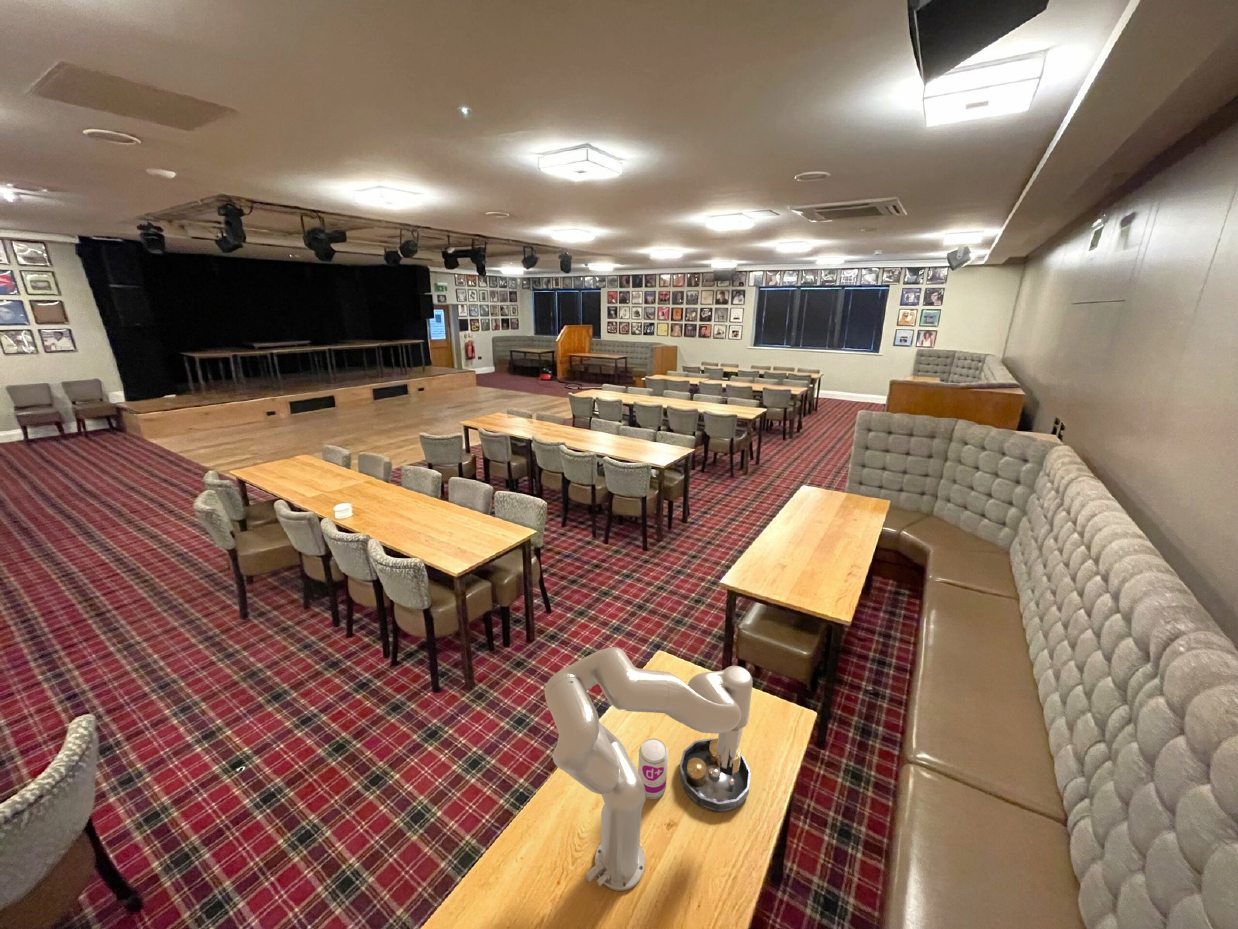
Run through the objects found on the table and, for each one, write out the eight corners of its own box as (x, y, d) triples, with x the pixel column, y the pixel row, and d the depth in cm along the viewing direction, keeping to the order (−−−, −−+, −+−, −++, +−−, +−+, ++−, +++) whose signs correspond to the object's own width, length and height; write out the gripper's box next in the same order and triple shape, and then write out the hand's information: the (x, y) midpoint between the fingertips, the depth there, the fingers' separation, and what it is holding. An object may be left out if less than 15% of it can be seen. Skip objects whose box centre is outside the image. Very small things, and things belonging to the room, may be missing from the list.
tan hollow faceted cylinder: (716, 768, 129) (717, 755, 128) (721, 751, 134) (722, 738, 132) (736, 776, 127) (738, 763, 126) (741, 759, 132) (742, 745, 130)
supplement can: (664, 803, 139) (666, 765, 133) (635, 797, 140) (636, 759, 135) (667, 776, 146) (670, 739, 141) (639, 771, 147) (641, 734, 142)
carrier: (719, 827, 133) (721, 812, 130) (666, 774, 147) (667, 759, 144) (762, 782, 145) (765, 766, 143) (709, 736, 159) (710, 722, 157)
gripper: (726, 683, 133) (722, 732, 139) (710, 734, 118) (706, 786, 125) (755, 692, 130) (749, 741, 136) (741, 745, 115) (735, 798, 122)
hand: (728, 762), depth 131 cm, fingers closed on tan hollow faceted cylinder, 5 cm apart
